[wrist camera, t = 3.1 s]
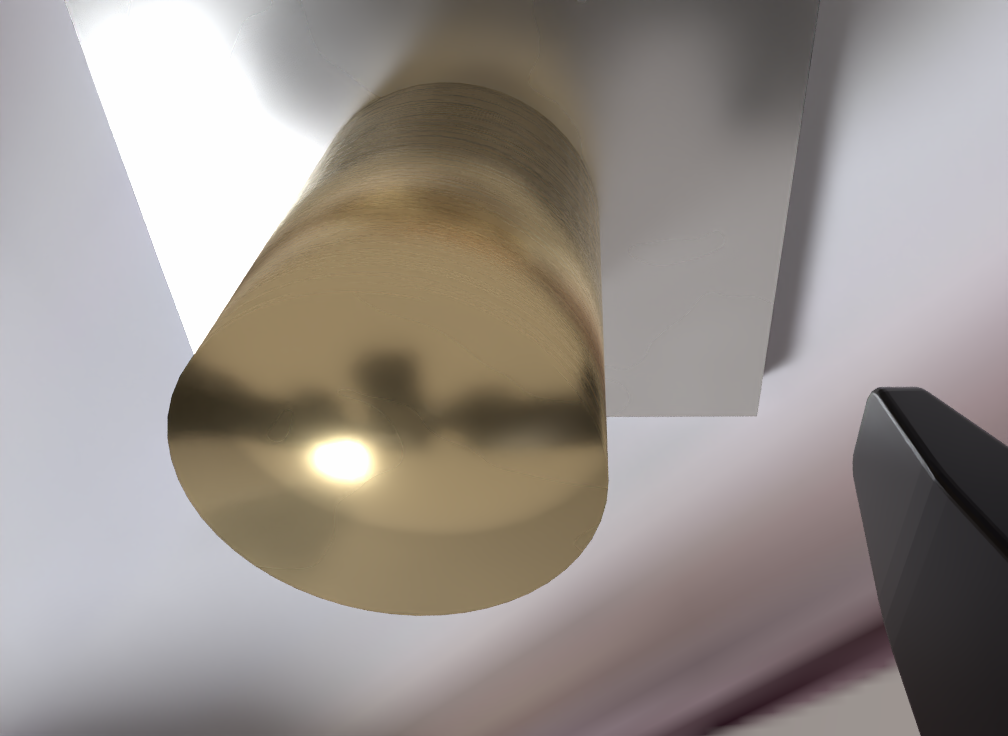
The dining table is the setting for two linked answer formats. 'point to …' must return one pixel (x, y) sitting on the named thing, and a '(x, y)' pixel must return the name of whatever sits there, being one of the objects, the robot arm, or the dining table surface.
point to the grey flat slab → (520, 74)
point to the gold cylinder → (412, 366)
